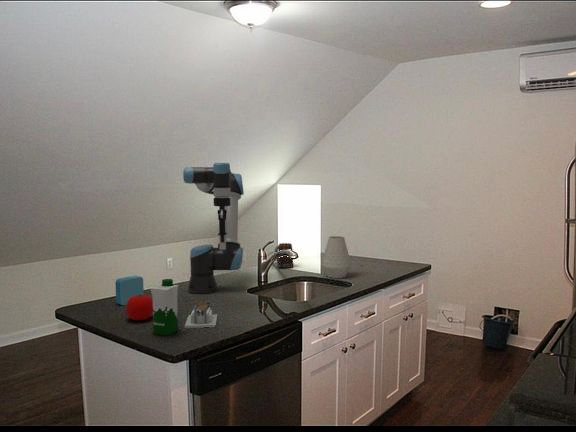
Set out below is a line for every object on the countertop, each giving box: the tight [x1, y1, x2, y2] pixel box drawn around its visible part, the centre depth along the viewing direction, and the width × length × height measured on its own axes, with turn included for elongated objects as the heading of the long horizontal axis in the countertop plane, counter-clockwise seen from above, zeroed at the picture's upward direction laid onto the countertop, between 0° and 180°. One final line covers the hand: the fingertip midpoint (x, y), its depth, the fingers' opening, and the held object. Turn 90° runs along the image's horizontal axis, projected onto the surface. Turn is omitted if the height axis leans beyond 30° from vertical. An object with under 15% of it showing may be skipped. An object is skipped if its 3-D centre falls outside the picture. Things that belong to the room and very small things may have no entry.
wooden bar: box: [197, 300, 206, 313], centre depth 201 cm, size 11×3×2 cm, turn 5°
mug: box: [274, 242, 294, 270], centre depth 309 cm, size 16×11×15 cm
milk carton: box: [149, 278, 179, 337], centre depth 188 cm, size 9×9×20 cm
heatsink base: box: [184, 300, 218, 329], centre depth 201 cm, size 14×12×8 cm
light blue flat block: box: [115, 275, 145, 306], centre depth 230 cm, size 12×4×12 cm, turn 139°
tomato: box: [125, 294, 153, 321], centre depth 205 cm, size 11×12×10 cm
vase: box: [320, 235, 352, 279], centre depth 285 cm, size 18×17×23 cm
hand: (222, 249), depth 222 cm, fingers closed
